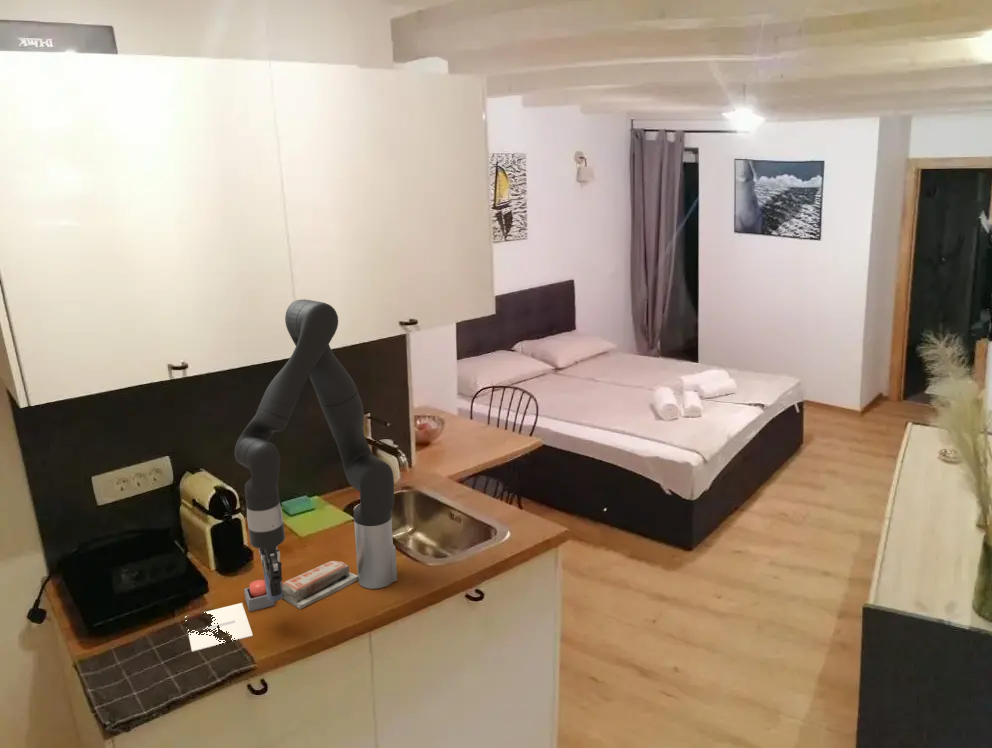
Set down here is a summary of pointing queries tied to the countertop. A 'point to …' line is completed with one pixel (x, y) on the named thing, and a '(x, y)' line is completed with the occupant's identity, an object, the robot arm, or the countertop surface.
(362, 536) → the robot arm
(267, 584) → the marker
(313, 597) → the packaged product
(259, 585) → the button
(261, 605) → the button base
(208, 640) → the drawing pad
